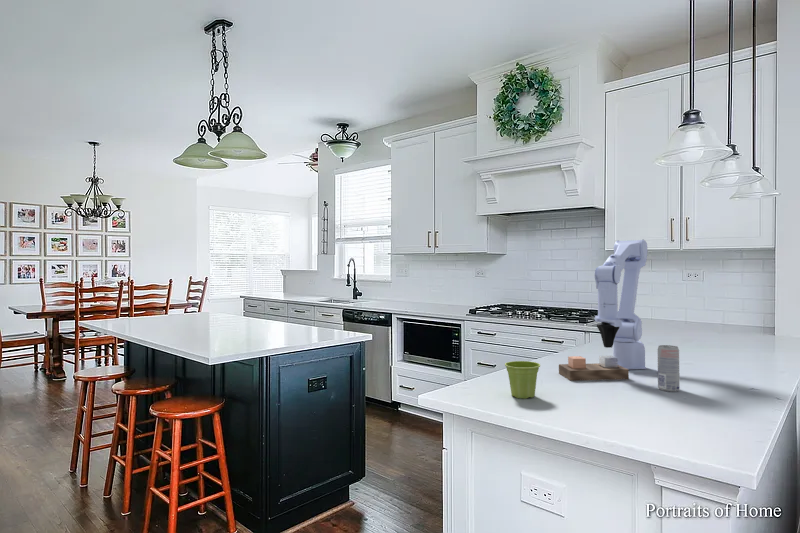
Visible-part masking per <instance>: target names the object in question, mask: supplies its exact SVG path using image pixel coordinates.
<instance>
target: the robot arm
mask: <svg viewBox="0 0 800 533" xmlns="http://www.w3.org/2000/svg"><path fill="white" fill-rule="evenodd" d="M647 258H648V243H647V241H646V240H645V239H635V240H634V239H633V240H632V239H631V240H616V241H615V242H614V244H613V254H610V255H609V256H608V257H607V259H606V260H605V261H604V262H603V264H602V265H598V266H597V267H596V268H595V269H594V280H595V287H596V289H597V315H595V316H594V319H593V320H594V321H595V322H596V323H597V324H596V328H597V329H598V331H599V333H600V336H601V340H602V341H601V342H602V344H603V347H604V348H605V349H608V348H612V356H614V357H616V358H618V365H619V366H622V367H624V368H626V369H629V370H647V367H646V346H645V345H644V343H643V342H642V341H641V338H642V335H643V327H642V324H643V323H642V322H643V321H642V319H641V317H639V315H637V314H636V313H635V307H636V300H637V294H638V286H639V278H640V272H641V268H643V267H645V266H646V265H647V264H646V263H647ZM623 270H624V272H623V279H622V287H621V292H620V300H619V301H618V297H619V296H618V284H619V283H620V280H621V277H622V271H623ZM618 303H619V305H618ZM618 306H619V308H618ZM598 322H599V324H598Z"/></svg>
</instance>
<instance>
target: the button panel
mask: <svg viewBox="0 0 800 533" xmlns="http://www.w3.org/2000/svg"><path fill="white" fill-rule="evenodd" d="M629 373H630V369H626V368H624V367H622V366H619V365H618V368H604V367H602V366H600V365H599V363H598V362H596V363H586V368H579V369H573V368H571V367H569V366H568V363H565V364H564V363H560V364H559V363H558V374H559V375H561V376H562V377H564V378H565V379H566V380H569V382H570V381H571V382H574V381H608V380H610V381H612V380H614V381H615V380H630V378H629V377H630V374H629Z"/></svg>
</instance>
